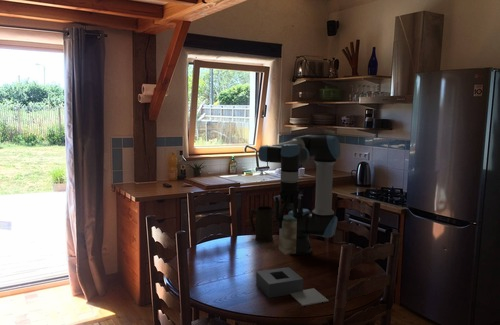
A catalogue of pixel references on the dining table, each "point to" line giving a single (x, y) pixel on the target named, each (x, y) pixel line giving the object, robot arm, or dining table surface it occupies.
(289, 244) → the teal and tan block
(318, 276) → the dining table surface
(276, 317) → the dining table surface
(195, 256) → the dining table surface
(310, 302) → the coaster
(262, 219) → the beer stein
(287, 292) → the block
